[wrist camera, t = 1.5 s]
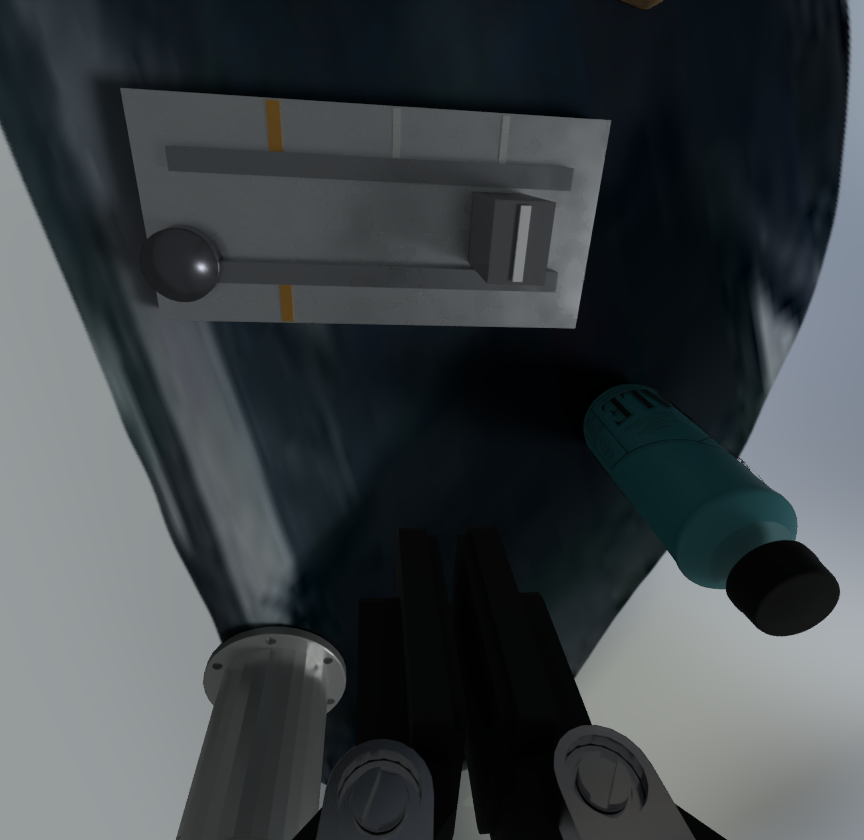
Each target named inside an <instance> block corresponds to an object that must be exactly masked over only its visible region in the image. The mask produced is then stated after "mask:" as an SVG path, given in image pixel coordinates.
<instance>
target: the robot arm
mask: <svg viewBox="0 0 864 840" xmlns="http://www.w3.org/2000/svg"><path fill="white" fill-rule="evenodd" d="M203 684H204V688H205V693H206V694H207V697H208V699H209V701H210V702H211V703H212V704H213V705H214V707H213V711H212V715H211V718H210V721H209V725H208V728H207V732H206V735H205V739H204V742H203V746H202V749H201V753H200V757H199V760H198V764H197V767H196V771H195V774H194V778H193V781H192V785H191V788H190V792H189V795H188V799H187V802H186V806H185V809H184V813H183V816H182V820H181V823H180V827H179V830H178V834H177V837H176V840H452V838H453V835H454V828H455V819H456V811H457V804H458V795H459V787H460V779H461V771H462V763H463V755H464V747H465V753H466V759H467V765H468V772H469V778H470V785H471V791H472V797H473V804H474V810H475V816H476V822H477V828H478V831H479V834H490V837H491V840H727V839H725V838H724V837H722V836H721V835H719V834H718V833H716V832H715V831H714V830H712V829H710V828H709V827H708V826H706V825H705V824H703V823H702V822H701V821H699V820H698V819H696V818H695V817H693V816H692V815H690V814H689V813H688V812H686V811H684V810H683V809H682V808H680V807H679V806H677V805H676V804H675V803H674V802H673V800H672V798H671V797H670V795H669V793H668V791H667V790H666V788H665V786H664V785H663V783H662V781H661V779H660V778H659V776H658V774H657V773H656V771H655V769H654V767H653V766H652V764H651V763H650V761H649V760H648V759H647V757H646V756H645V754H644V753H643V752H642V750H641V749H640V748H638V747H637V746H636V745H635V744H634V743H633V742H632V741H631V740H630V739H628V738H627V737H626V736H624V735H622V734H620V733H618V732H616V731H614V730H613V729H610V728H606V727H602V726H598V725H592V724H591V721H590V719H589V716H588V713H587V711H586V708H585V706H584V703H583V700H582V698H581V696H580V693H579V690H578V687H577V685H576V682H575V680H574V677H573V675H572V672H571V669H570V667H569V664H568V662H567V659H566V656H565V654H564V651H563V649H562V646H561V643H560V641H559V638H558V636H557V633H556V630H555V628H554V625H553V623H552V620H551V618H550V615H549V612H548V610H547V607H546V605H545V602H544V600H543V598H542V596H541V595H540V594H539V593H538V592H531V593H519V591H518V588H517V585H516V582H515V579H514V576H513V573H512V570H511V567H510V564H509V561H508V559H507V556H506V553H505V550H504V547H503V544H502V541H501V538H500V535H499V532H498V529H497V527H496V526H468V527H467V531H466V534H458V535H457V540H456V551H455V563H454V574H453V585H452V597H451V608H449V602H448V596H447V590H446V585H445V579H444V573H443V567H442V561H441V556H440V550H439V544H438V538H437V535H436V534H433V535H427V531H426V527H413V528H398V538H397V575H396V598H372V599H359V628H358V665H357V703H356V740H355V747H354V748H352V749H351V750H350V751H349V752H348V753H346V754H345V755H344V756H343V757H342V758H341V759H340V760H339V762H338V763H337V765H336V766H335V768H334V769H333V770H332V772H331V775H330V778H329V781H328V784H327V787H326V790H325V796H324V801H323V806H322V808H321V809H320V810H319V798H320V786H321V773H322V761H323V748H324V736H325V723H326V713H327V712H329V711H330V710H331V709H332V708H333V707H334V706H335V705H336V704H337V703H338V701H339V700H340V699H341V697H342V695H343V692H344V690H345V684H346V667H345V664H344V660H343V658H342V657H341V655H340V654H339V652H338V651H337V650H336V649H335V648H334V647H333V646H332V645H331V644H330V643H329V642H327V641H326V640H324V639H323V638H321V637H319V636H317V635H315V634H313V633H310V632H308V631H304V630H301V629H297V628H290V627H263V628H256V629H252V630H248V631H245V632H242V633H239V634H237V635H235V636H233V637H231V638H229V639H228V640H226V641H225V642H224V643H222V644H221V645H220V646H219V647H218V648H217V649H216V650H215V651H214V652H213V653H212V655H211V657H210V659H209V661H208V663H207V666H206V670H205V672H204V680H203Z"/></svg>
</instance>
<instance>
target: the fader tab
mask: <svg viewBox="0 0 864 840" xmlns="http://www.w3.org/2000/svg"><path fill="white" fill-rule="evenodd" d="M555 208H556V202H553V201H549V200H545V199H542V198H538V197H534V196H530V195H527V194H515V193H495V192H475V191H474V196H473V208H472V221H471V234H470V247H469V260H468V263H469V264H470V265H471V266H472V267H473V269H474V270H475V271H476V272H477V273H478V274H479V275H480V276H481V278H482V279H483V280H484V281H485V282H486V283H487V284H500V285H534V286H544V285H545V278H546V271H547V264H548V257H549V250H550V243H551V236H552V229H553V222H554V215H555Z"/></svg>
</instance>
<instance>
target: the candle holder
mask: <svg viewBox="0 0 864 840" xmlns="http://www.w3.org/2000/svg"><path fill="white" fill-rule="evenodd" d="M618 1H620V2H623V3H625V4H628V5H631V6H633V7H636V8H639V9H649V8H651V7H653V6H655V5H657V4H658V3H660V2H662V1H663V0H618Z"/></svg>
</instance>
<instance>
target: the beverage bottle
mask: <svg viewBox="0 0 864 840" xmlns="http://www.w3.org/2000/svg"><path fill="white" fill-rule="evenodd" d="M649 387H650V386H649ZM649 387H646V385H645V386H642V385H641V384H639V385H638V384H623V385H619V386H615V387H613V388H610V389H608V390H607V391H605V392H603V393H602V394H601V395H599V396H598V397H597V398H596V399H595V400H594V401H593V403H592V404H591V405H590V407H589V409H588V411H587V413H586V415H585V418H584V424H583V430H584V431H583V433H584V437H585V440H586V443H587V445H588V446H589V448H590V449H591V450H592V452H593V453H594V454H595V456H596V457H597V458H598V460H599V462H601V466H602V465H603V466H604V467H603V468H604V469H606V470H607V471H608V473H609V474H610V475H611V479H612V478H613V479H614V481H615V482H616V483H617V485H618V486H619V487H620V488H621V490H622V491H623V492H624V494H625V495H626V497H628V498H629V499H630V501H631V502H632V504H633V505H634V506H635V507H636V509H637V510H638V511H639V513H640V514H641V515H642V517H643V518H644V519H645V521H646V522H647V524H648V525H649V526H650V528H651V529H652V530H653V532H654V533H655V534H656V536H657V537H658V538H659V540H660V541H661V542H662V544H663V545H664V546H665V548H666V549H667V550H668V552H669V553H670V554H671V556H672V557H673V559H674V560H675V561H676V563H677V565H678V567H679V569H680V570H681V572H682V573H683V574H684V576H685V577H687V578H688V579H689V580H690V581H692V582H694V583H696V584H698V585H700V586H703V587H707V588H713V589H726V592H727V595H728V597H729V599H730V600H731V601H732V603H733V604H734V605H735V606H736V607H737V608H738V609H739V610H740V611H741V612H743V613H744V614H745V615H746V617H747V618H748V619H749V620H750V621H751V622H752V623H753V624H754V625H755V626H756V627H757V628H758V629H759V630H761V631H762V632H764V633H766V634H769V635H773V636H789V635H794V634H798V633H801V632H803V631H806V630H808V629H810V628H812V627H813V626H815V625H817V624H818V623H820V622H821V621H822V620H823V619H825V618H826V617H827V616H828V615H829V614H830V613H831V612H832V610H833V609H834V607H835V606H836V604H837V602H838V599H839V595H840V588H839V584H838V582H837V581H836V578H835V577H834V576H833V575H832V574H831V573H830V572H829V570H828V569H827V568H826V567H825V566H824V565H823V564H822V563H821V562H820V561H819V559H818V558H817V556H816V555H815V554H814V553H813V552H812V551H811V550H810V549H808V548H807V547H806V546H805V545H803V544H802V543H800V542H797V541H795V539H796V534H797V517H796V514H795V511H794V509H793V507H792V506H791V504H790V503H789V502H788V501H787V500H786V499H785V498H784V497H783V496H782V495H780V494H779V493H777V492H775V491H774V490H772V489H771V488H770V487H769V486H767V485H766V484H765V483H764V482H762V481H761V480H760V479H759V478H757V477H756V476H755V475H754V474H753V473H752V472H751V471H750V469H748V468H747V467H748V466H747V467H746V466H744V465H743V464H742V463H744V462H743V460H742V461H741V463H740V462H739V461H738V460H737V459H738V458H739V457H738V456H736V457H738V458H737V459H736V458H734V457H733V456H732V455H733V454H732V453H733V452H732V453H731V454H732V455H731V454H730V453H728V451H726V450H725V449H724V448H722V447H721V446H720V445H719V444H718V443H716V442H715V441H714V440H713V439H712V437H710V436H708V435H709V434H708V435H707V434H706V432H705V431H704V432H705V433H704V432H703V430H701V429H702V428H701V429H700V428H698V427H697V426H696V425H695V424H694V422H693V423H692V422H691V421H693V420H692V419H691V418H690V417H689V416H687V415H686V414H685V413H684V412H683V411H681V409H680V408H678V407H676V406H675V405H674V404H673V403H672V402H671V403H672V405H673V406H675V407H676V408H677V409H678V410H679V411H681V412H682V413H683V414H684V415H685V416H687V417H688V418H689V419H690V420H691V421H690V420H689V419H688V418H686V417H685V416H684V415H683V414H682V413H680V412H679V411H678V410H677V409H676V408H674V407H673V406H672V405H671V404H670V403H668V402H667V400H669V399H667V400H665V399H664V398H663V397H662V396H661V395H662V394H661V395H660V394H659V393H658V392H657V393H656V392H655V391H654V389H653V390H652V389H650V388H649ZM657 391H658V390H657ZM663 396H664V395H663ZM664 397H665V396H664ZM665 398H666V397H665ZM697 424H698V423H697ZM698 425H699V424H698ZM699 426H700V425H699ZM715 439H716V438H715ZM718 442H719V441H718ZM725 447H726V446H725ZM726 448H727V447H726ZM727 450H728V448H727ZM729 451H731V450H729ZM735 455H736V454H735ZM735 455H734V456H735ZM595 456H593V457H595ZM739 459H740V458H739ZM596 461H597V460H596ZM599 465H600V464H599ZM603 468H602V469H603ZM605 473H606V472H605ZM608 473H607V474H608ZM608 477H609V476H608ZM611 481H612V480H611ZM622 495H623V493H622ZM626 497H625V498H626ZM626 499H627V498H626Z"/></svg>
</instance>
